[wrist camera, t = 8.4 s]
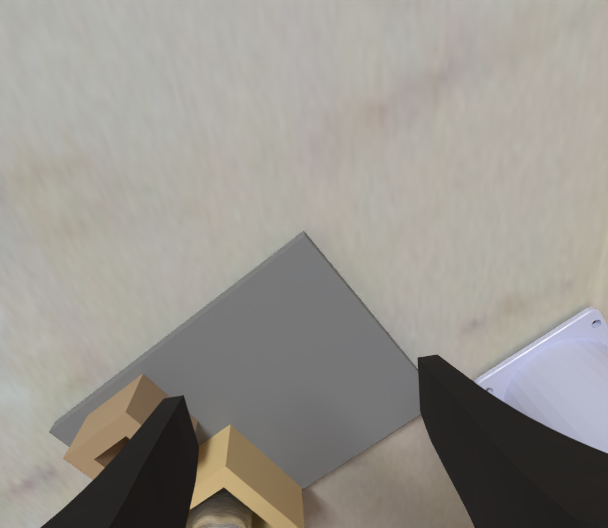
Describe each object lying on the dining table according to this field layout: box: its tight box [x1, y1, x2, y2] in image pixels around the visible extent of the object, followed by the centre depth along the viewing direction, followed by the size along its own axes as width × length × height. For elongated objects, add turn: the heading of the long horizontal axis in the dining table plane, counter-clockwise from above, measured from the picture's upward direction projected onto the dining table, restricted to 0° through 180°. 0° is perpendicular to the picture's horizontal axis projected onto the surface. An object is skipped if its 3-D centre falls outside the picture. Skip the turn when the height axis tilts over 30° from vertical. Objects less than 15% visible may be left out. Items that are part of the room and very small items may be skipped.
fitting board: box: [49, 231, 421, 528], centre depth 23 cm, size 13×18×4 cm
